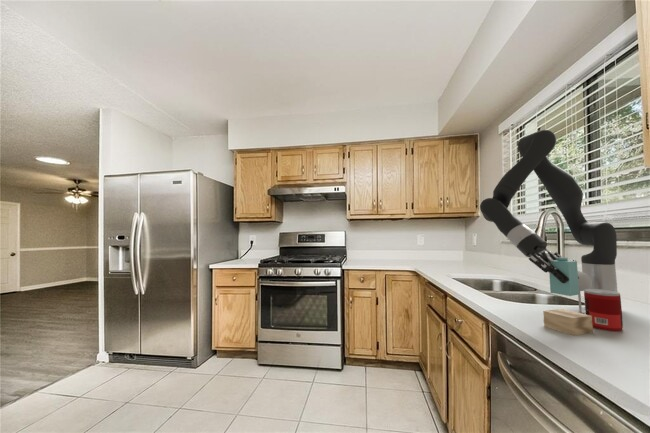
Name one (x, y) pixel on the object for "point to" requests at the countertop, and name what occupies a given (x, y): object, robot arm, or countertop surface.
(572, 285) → the teal brick
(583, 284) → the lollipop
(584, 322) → the wooden block
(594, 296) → the canned food
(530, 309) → the countertop surface
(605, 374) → the countertop surface
